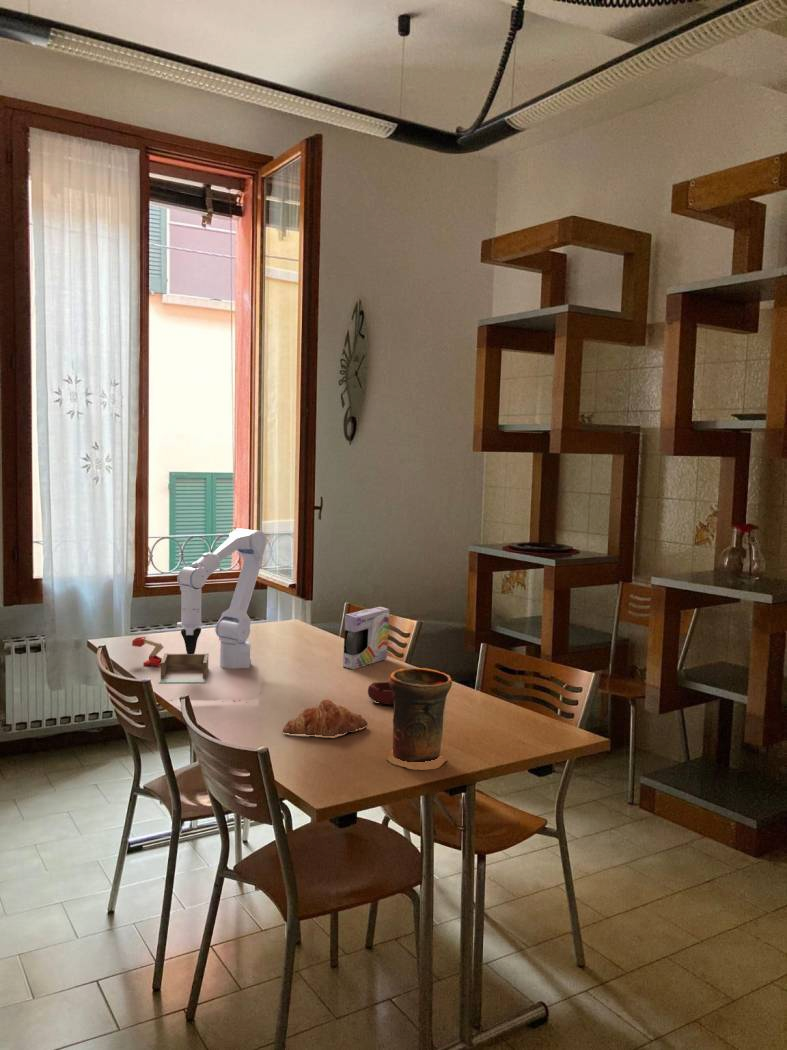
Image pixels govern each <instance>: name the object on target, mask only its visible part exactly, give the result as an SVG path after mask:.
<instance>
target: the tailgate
mask: <svg viewBox="0 0 787 1050" xmlns="http://www.w3.org/2000/svg"><path fill="white" fill-rule="evenodd" d="M206 682H207V678H206V679H203V678H164V679H161V678H160V679H159V681H158V684H206Z"/></svg>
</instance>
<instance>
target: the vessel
mask: <svg viewBox="0 0 787 1050" xmlns="http://www.w3.org/2000/svg"><path fill="white" fill-rule="evenodd" d="M452 680H453V679H452V678H451V676H450V675H449V674H446V673H445V672H441V671H439V670H435V669H430V668H424V667H422V668H421V667H411V668H401V669H397V670H394V671H393V672H391V674H390V676H389V679H388V682H389V685H390V687H391V689H392V691H393V699H394V705H393V717H392V726H393V727H392V749H391V750H392V751H391V754H393V756H394V757H395V758H397V759H400V760H402V761H407V762H425V761H431V760H435V759H437V758H438V757H439V756H440V755H441V747H442V742H443V741H442V740H443V731H444V730H443V729H444V714H445V713H444V712H445V708H446V707H445V706H446V700H447V696H448V693H449V692H450V690H451V688H452V685H453V681H452ZM440 757H441V756H440Z"/></svg>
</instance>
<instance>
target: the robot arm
mask: <svg viewBox="0 0 787 1050" xmlns="http://www.w3.org/2000/svg"><path fill="white" fill-rule="evenodd" d="M267 542H268V540H267V538H266V535H265V533H264V531H262V530H259V529H257V530H254V529H248V528H242V527H241V528H240V527H236V528H235V529H234V530H233V531H232V532H230V533H229V536H228V538H226V540H224V542H222V544H220V546H218V548H216V549H215V550H214V551H213V552H204V553H202V556H201V557H199V559H197V560H196V561H193V562H192V563H191V565H190V566H184V567H183V568H181V569H180V571H179V572H178V575H177V577H176V579H177V580H176V581H177V583H178V586H179V590H180V593H181V597H180V598H181V604H180V605H181V606H180V609H181V612H180V619H181V620H180V621H178V622H177V623H176V626H178V627H182V629H181V630H180V635H181V636H182V639H183V640H184V645H185V650H186V651H185V652H186V654H196V647H197V644H198V640H199V637H200V635H201V632H202V628H201V627H202V625H203V623H202V589H203V588H202V587H204V586H205V584H206V582H207V580H208V578H209V577H210V575H212V574H213V573H214V572H216V571H217V570H218V569H219V568H220V567H221V562H222V561H223V560H224V559H226V558H228V557H229V556H231V555H232V554H234V553H235V552H236V551H237V553H238V554H239V555H240V556H241V557H242V559H243V563H242V566H241V570H240V573H239V576H238V579H237V582H236V586H235V589H234V592H233V596H232V597H231V601H230V605H229V608H228V609H226V610H224V611H223V612H221V615H220V618H219V619H218V621H217V622H216V624H215V627H214V628H215V629H214V631H215V634H216V636H217V637H218V641H220V653H219V654H220V655H219V658H220V659H219V666H220V667H221V668H224V669H233V670H234V669H250V668H251V667H250V666H251V665H252V659H251V641H248V639H249V637H250V634H251V623H252V619H251V618H250V616H249V615H248V613H247V612H248V609H249V605H250V603H251V599H252V596H253V593H254V591H255V590H254V589H255V587H256V582H257V580H258V576H259V572H260V570H261V566H262V563H263V558H264V557H263V556H264V553H265V549H266V546H267Z"/></svg>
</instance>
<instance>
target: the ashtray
mask: <svg viewBox="0 0 787 1050" xmlns="http://www.w3.org/2000/svg"><path fill="white" fill-rule="evenodd" d="M367 694H368V697H369V698H370V699H371V700H372V701H376V702H379V703H383V704H384V705H391V706H392V704H393V706H394V699H393V691H392V689H391V687H390V685H389V681H387V682H386V681H385V682H382V681H381V682H378V681H377V682H376V681H375V682H374V681H373V682H372V683H371V684H370V685H369V686H368V688H367Z"/></svg>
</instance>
